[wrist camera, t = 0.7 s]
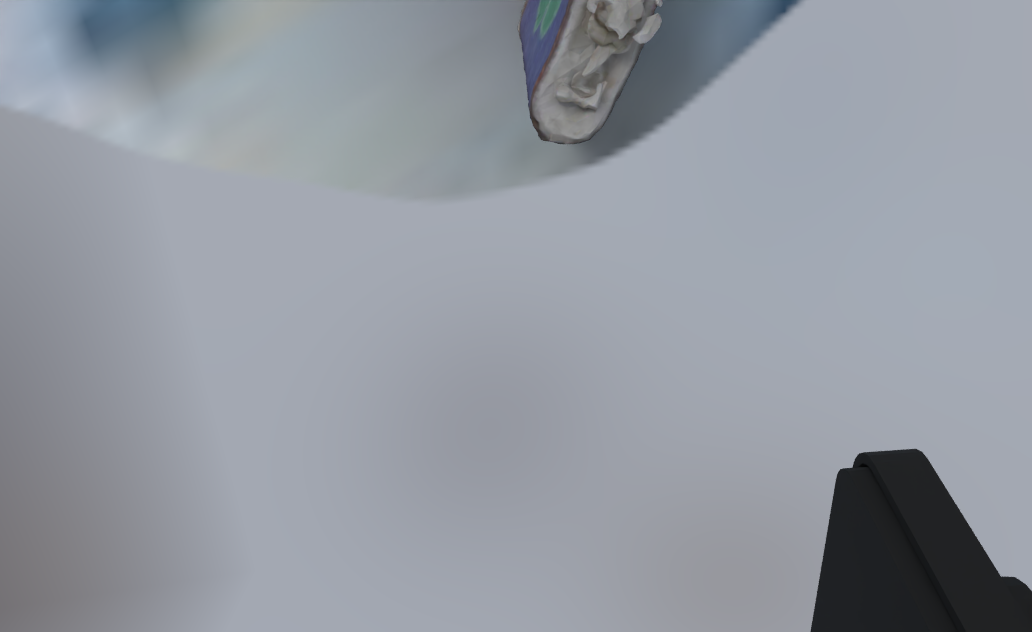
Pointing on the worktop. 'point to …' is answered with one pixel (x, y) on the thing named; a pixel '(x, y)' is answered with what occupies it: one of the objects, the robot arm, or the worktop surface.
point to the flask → (580, 60)
